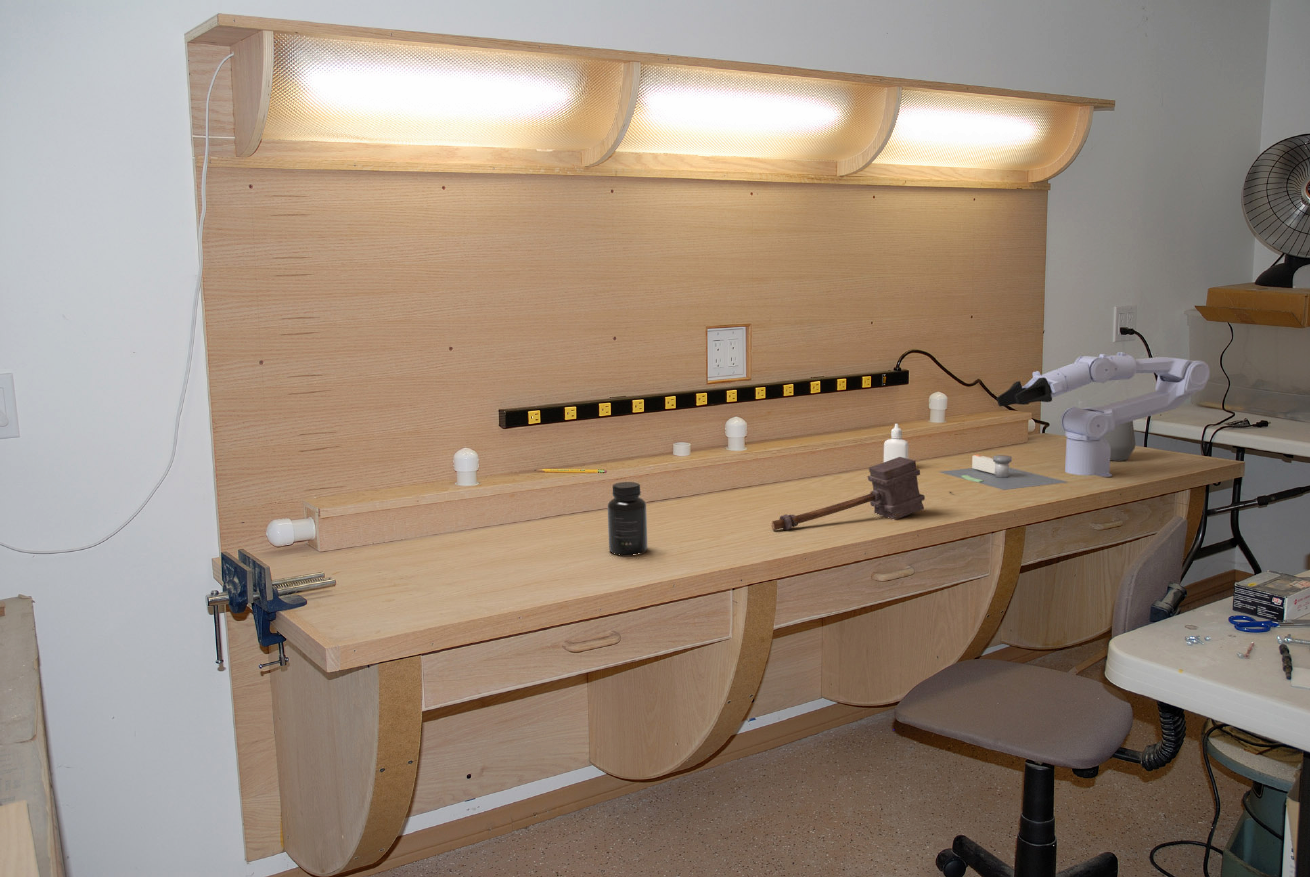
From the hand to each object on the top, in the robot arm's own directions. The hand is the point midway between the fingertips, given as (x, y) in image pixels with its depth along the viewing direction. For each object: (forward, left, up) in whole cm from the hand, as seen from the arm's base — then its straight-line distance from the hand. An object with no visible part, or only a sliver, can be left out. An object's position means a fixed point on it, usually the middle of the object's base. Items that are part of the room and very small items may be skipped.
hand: (1007, 401), depth 222 cm
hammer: (+52, +15, -19) cm, 57 cm away
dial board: (0, -1, -19) cm, 19 cm away
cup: (-43, -9, -19) cm, 48 cm away
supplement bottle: (+98, +16, -19) cm, 101 cm away
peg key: (0, -5, -17) cm, 18 cm away
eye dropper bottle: (+16, -19, -19) cm, 31 cm away
